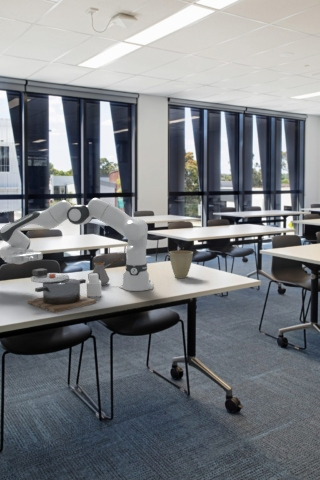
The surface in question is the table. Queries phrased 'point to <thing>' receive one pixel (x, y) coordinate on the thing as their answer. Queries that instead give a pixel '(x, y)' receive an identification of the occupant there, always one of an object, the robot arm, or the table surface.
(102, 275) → the coffee pot
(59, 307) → the trivet
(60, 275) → the lid
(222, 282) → the table surface
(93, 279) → the medicine bottle
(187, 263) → the plant pot
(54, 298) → the cooker pot
